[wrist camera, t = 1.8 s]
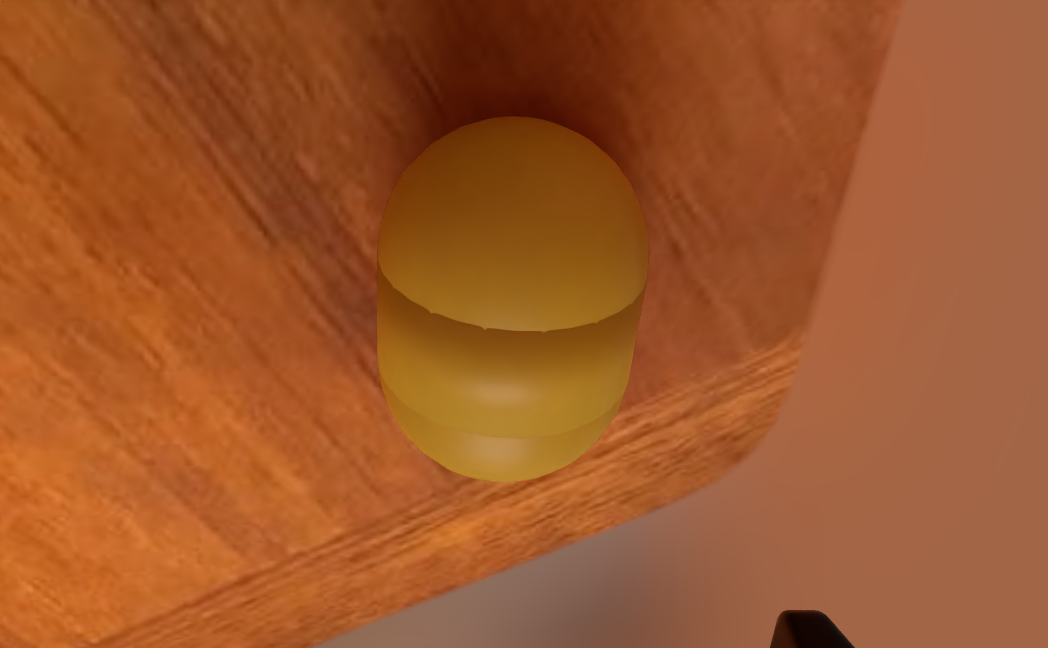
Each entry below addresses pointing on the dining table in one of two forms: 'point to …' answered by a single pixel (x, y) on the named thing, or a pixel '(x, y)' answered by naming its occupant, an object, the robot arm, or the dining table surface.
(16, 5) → the dining table surface
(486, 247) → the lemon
